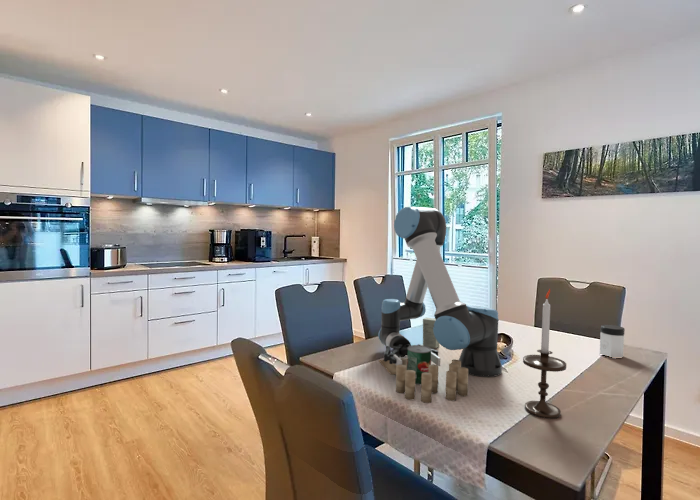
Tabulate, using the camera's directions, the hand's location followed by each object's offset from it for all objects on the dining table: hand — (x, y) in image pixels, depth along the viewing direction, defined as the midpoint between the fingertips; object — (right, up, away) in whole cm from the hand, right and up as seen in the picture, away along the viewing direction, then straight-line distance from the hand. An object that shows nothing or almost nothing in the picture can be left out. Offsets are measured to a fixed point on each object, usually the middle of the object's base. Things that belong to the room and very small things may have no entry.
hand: (420, 363), depth 128 cm
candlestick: (+31, -8, -19) cm, 37 cm away
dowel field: (+2, -7, -7) cm, 10 cm away
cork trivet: (-4, -6, +15) cm, 17 cm away
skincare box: (+12, -5, +41) cm, 43 cm away
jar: (+85, -6, +31) cm, 91 cm away
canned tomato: (0, -7, +2) cm, 7 cm away
